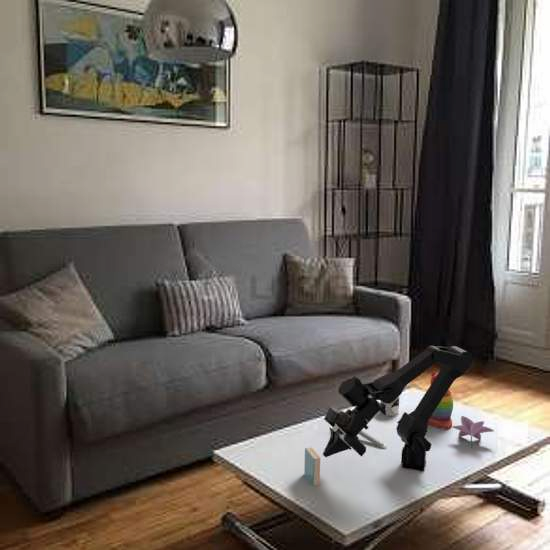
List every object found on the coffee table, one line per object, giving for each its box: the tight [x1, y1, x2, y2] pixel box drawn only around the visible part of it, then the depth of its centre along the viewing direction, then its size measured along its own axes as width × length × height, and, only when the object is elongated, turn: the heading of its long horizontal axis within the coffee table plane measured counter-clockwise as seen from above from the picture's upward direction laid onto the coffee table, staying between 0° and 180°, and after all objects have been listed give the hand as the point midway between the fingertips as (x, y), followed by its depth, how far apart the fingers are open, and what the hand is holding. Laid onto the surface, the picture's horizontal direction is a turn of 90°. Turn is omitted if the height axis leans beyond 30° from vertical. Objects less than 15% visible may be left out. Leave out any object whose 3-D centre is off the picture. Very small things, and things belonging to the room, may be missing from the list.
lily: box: [451, 415, 495, 449], centre depth 203 cm, size 12×12×10 cm
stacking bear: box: [428, 371, 454, 430], centre depth 219 cm, size 11×10×18 cm
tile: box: [303, 446, 321, 487], centre depth 178 cm, size 2×7×8 cm, turn 17°
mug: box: [379, 396, 400, 417], centre depth 229 cm, size 10×7×7 cm, turn 149°
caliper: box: [358, 430, 387, 450], centre depth 206 cm, size 20×1×6 cm, turn 43°
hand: (324, 455), depth 179 cm, fingers closed
